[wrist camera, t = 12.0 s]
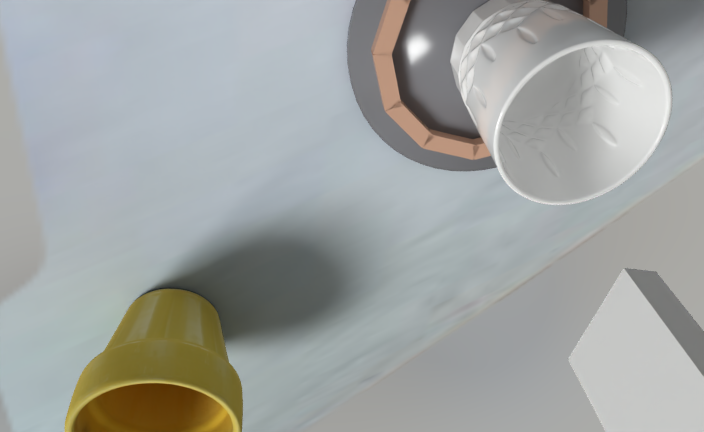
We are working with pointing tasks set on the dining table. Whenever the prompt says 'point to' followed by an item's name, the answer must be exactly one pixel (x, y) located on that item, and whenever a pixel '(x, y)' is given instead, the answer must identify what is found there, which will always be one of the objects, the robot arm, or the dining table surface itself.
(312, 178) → the dining table surface
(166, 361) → the plant pot
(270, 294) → the dining table surface
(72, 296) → the dining table surface
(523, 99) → the white cup
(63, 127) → the dining table surface
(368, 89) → the trivet
